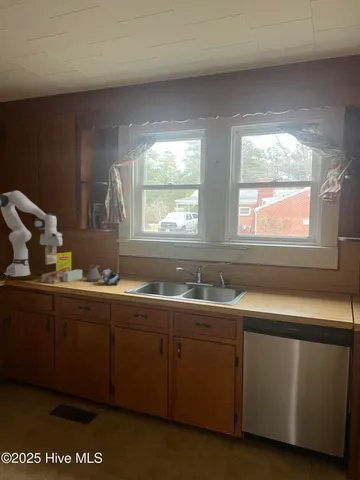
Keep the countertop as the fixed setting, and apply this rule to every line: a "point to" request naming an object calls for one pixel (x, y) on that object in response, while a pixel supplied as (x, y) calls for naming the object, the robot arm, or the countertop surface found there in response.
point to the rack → (50, 278)
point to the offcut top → (56, 274)
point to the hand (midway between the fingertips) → (50, 250)
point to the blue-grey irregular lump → (110, 277)
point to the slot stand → (72, 275)
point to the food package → (63, 262)
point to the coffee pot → (94, 273)
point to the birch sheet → (50, 255)
